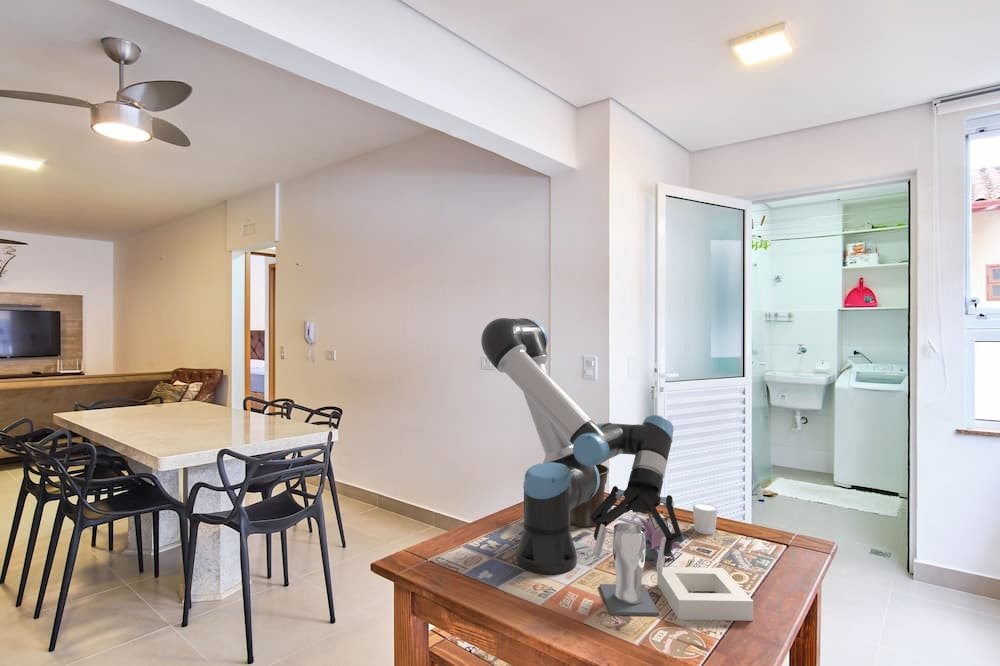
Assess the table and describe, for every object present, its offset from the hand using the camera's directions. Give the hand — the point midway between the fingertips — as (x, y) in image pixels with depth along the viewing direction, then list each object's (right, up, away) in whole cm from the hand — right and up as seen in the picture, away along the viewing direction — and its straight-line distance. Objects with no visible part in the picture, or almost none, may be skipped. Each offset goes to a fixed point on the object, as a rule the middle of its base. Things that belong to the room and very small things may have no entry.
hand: (626, 562), depth 115 cm
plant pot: (-2, -9, +50) cm, 51 cm away
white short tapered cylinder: (+33, -9, +43) cm, 55 cm away
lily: (+13, -9, +23) cm, 28 cm away
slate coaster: (+1, -9, +2) cm, 9 cm away
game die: (+17, -9, +34) cm, 39 cm away
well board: (+17, -9, +2) cm, 19 cm away
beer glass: (+1, -9, +2) cm, 9 cm away
